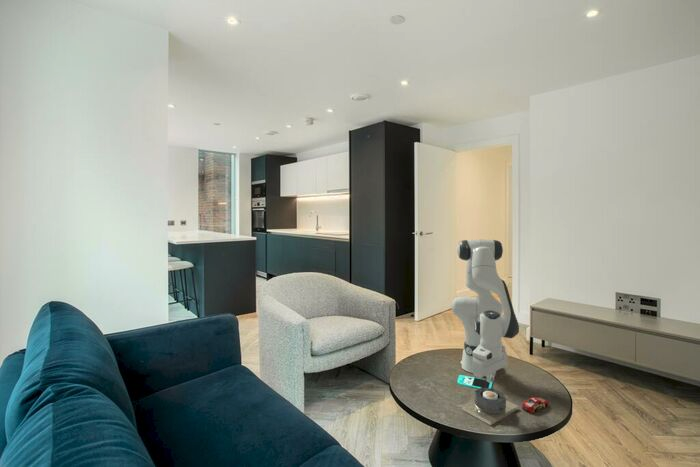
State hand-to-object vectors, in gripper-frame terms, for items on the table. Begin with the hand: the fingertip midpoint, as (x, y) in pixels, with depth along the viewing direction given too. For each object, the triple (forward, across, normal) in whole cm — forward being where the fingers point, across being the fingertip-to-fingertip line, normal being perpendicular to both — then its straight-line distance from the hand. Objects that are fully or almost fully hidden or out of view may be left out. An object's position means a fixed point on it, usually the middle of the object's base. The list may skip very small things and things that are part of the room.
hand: (490, 381), depth 152 cm
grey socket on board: (+13, 0, 0) cm, 13 cm away
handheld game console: (+13, -15, -18) cm, 27 cm away
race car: (+13, -18, +10) cm, 24 cm away
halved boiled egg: (+10, 0, 0) cm, 10 cm away
